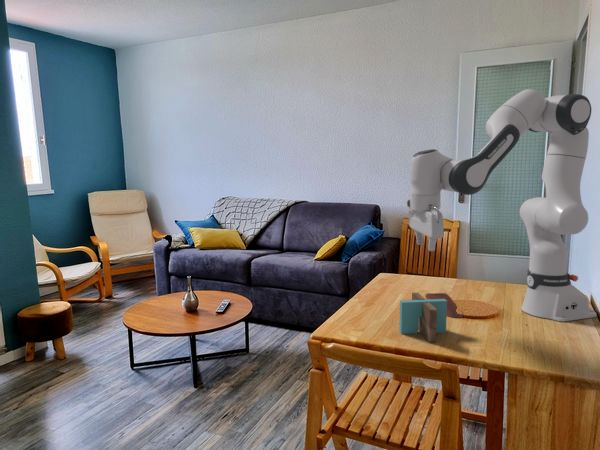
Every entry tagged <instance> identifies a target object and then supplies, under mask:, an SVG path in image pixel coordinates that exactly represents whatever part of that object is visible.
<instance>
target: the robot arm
mask: <svg viewBox="0 0 600 450" xmlns="http://www.w3.org/2000/svg"><path fill="white" fill-rule="evenodd" d="M591 116H592V104H591V102H590V99H588V97H586V96H585V95H583V94H578V93H568V94H558V95H552V96H549V97H544V95H543V94H542V93H541V92H540V91H538V90H537V89H533V88H527V89H523V90H522V91H519V92H518V93H516V94H515V95H513V96H512V97H511V98H509V99H508V100H507V101H505V102H504V103H503V104H501V105H500V106H499V108H497V109H496V110H495V111H494V112H493V113H492V114H491V115H490V117H488V120H487V121H486V123H485V131H486V135H487V136H488V137H489V139H490V140H489V141H488V142H487V143H486V144H485V145H484V146H483V148H481V150H479V152H477V154H475V155H474V156H472V157H469V158H465V159H453V158H451V157H448V156H446V155H444V154H443V153H441V152H439V150H438V149H425V150H422V151H421V150H420V151H418V152H416V153H414V154H413V156H412V158H411V163H410V172H409V174H410V175H409V176H410V179H409V180H410V183H411V190H410V197H409V198H408V199H407V200H406V207H407V208H408V209H407V211H408V212H407V214H408V224H409V225H408V226H409V228H410V229H412V230H414V234H415V238H416V244H417V245H419V246H422V245H424V244H425V243H424V241H425V240H424V237H423V235H425V236H426V237H428V240H427V241H428V244H427V250H428V251H429V252H435V251H436V243H437V242H438V239H443V237H444V234H445V231H444V230H445V228H444V216H443V213H442V212H441V211H440V210H441V191H442V190H443V191H449V192H455V193H459V194H462V195H467V196H471V195H474V194H477V193H479V192H480V191H481V190H482V189H483V188H484V187H485V185H486V183H487V181H488V179H489V178H490V175H491V174H492V172H493V171H494V170H495V168H497V166H498V165H500V163H501V162H502V161H503V160H504V159H505V157H507V156H508V154H509V153H510V152H511V151H512V150H513V148H515V147H516V145H517V144H518V141H519V140H520V138H521V137H522V136H523V135H525V134H526V133H527V132H528V131H530V132H533V133H540V132H541V133H549V135H550V143H549V145H548V149H547V151H546V157H545V159H544V163H543V164H544V165H543V169H542V173H541V180H542V182H543V184H544V187H545V194H546V195H545V197H543V196H542V197H541V196H538V197H532V198H528V199H526V200H525V201H524V202H523V203H522V204H521V205H520V209H519V217H520V219H521V221H522V222H523V224H524V226H525V229H526V233H527V237H528V244H529V265H528V270H527V273H526V285H527V286H526V290H525V296H524V300H523V303H522V305H521V308H520V309H521V310H522V311H523V312H524V313H527V314H528V315H530V316H533V317H538V318H542V319H543V318H544V319H548V320H549V319H550V320H554V321H556V322H557V321H558V322H568V321H578V320H584V319H591V318H597V317H598V315H597V314H598V313H597V312H596V311H595V310H593V309H592V308H590V305H589V299H588V297H587V296H586V294H585V293H584V292H582V290H581V291H580V289H578V288H577V287H575V286H574V285H573V284H572V282H578V281H579V276H578V275H575V274H570V273H568V272H567V270H568V260H569V259H568V258H569V250H568V248H567V246H566V245H565V243H564V242H563V241H564V240H563V239H562V236H568V235H577V234H580V233H581V232H583V230H585V228H586V227H587V225H588V223H589V214H588V211H587V209H586V208H585V206H584V204H583V202H582V194H581V180H582V176H583V170H584V167H585V162H586V160H587V153H588V149H589V139H590V138H589V137H590V134H589V129H588V127H587V126H588V124H589V122H590V120H591ZM571 281H572V282H571Z"/></svg>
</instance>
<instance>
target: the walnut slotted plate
mask: <svg viewBox="0 0 600 450" xmlns="http://www.w3.org/2000/svg"><path fill="white" fill-rule="evenodd" d="M411 300H426V297H424V296H422V294H420V292H411ZM436 325H437V309H436V308H435V307H434V306H432V305H431V304H430V303H423V308H422V317H418V333H420V334H421V335H422V336H423V337H424V339H425V340H426V341H427V342H428V343H429V344H431V343H437V332H436Z"/></svg>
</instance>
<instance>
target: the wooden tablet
mask: <svg viewBox="0 0 600 450" xmlns="http://www.w3.org/2000/svg"><path fill="white" fill-rule="evenodd" d="M424 298H425V300H427V299H445V300H447V317H446V318H452V319H463V318H464V317H463V316H464V315H463V316H462V315H460V314H457V312H456V309H457V306H458V305H457V304H456V302H455V301H454V300H453V298H451V296H449V295H448V294H447V293H445V292H444V293H443V292H439V293H433V292H432V293H426V294H425V297H424ZM454 302H455V303H454ZM456 305H457V306H456Z"/></svg>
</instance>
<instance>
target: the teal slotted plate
mask: <svg viewBox="0 0 600 450" xmlns="http://www.w3.org/2000/svg"><path fill="white" fill-rule="evenodd" d="M423 303H430V304H431V305H432V306H434V307H435V308H436V309H437V325H436V333H447V318H448V317H447V300H445V299H425V300H412V299H408V300H407V299H403V300H399V330H398V332H399V333H400V334H401V335H409V334H413V335H414V334H418V333H419V330H418V317H422V308H423Z"/></svg>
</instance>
